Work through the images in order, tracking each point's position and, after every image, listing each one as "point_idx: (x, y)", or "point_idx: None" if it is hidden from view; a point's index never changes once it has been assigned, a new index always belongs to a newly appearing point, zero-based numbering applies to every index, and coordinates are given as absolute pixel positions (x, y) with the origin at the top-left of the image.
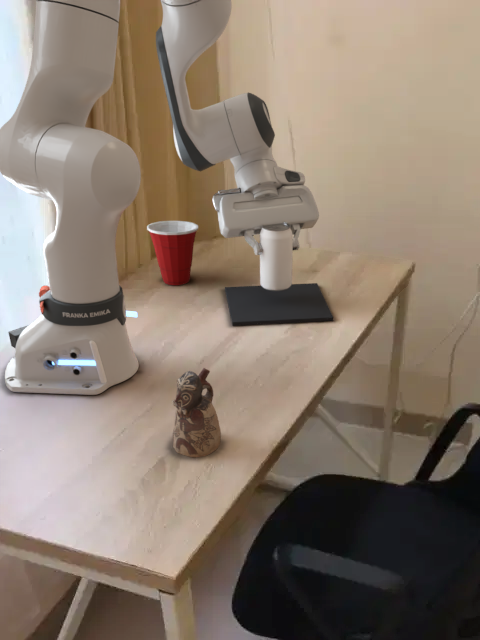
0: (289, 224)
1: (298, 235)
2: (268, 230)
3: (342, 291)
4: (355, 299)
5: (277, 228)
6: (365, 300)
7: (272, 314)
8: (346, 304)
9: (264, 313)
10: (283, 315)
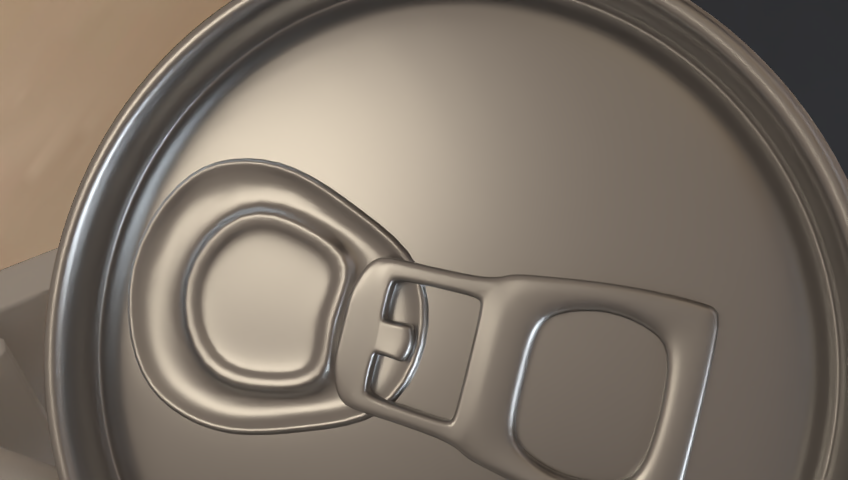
0: (70, 229)
1: (51, 251)
2: (822, 195)
3: (62, 218)
4: (80, 60)
5: (442, 258)
6: (44, 14)
7: (781, 68)
8: (174, 21)
9: (833, 118)
10: (713, 4)
